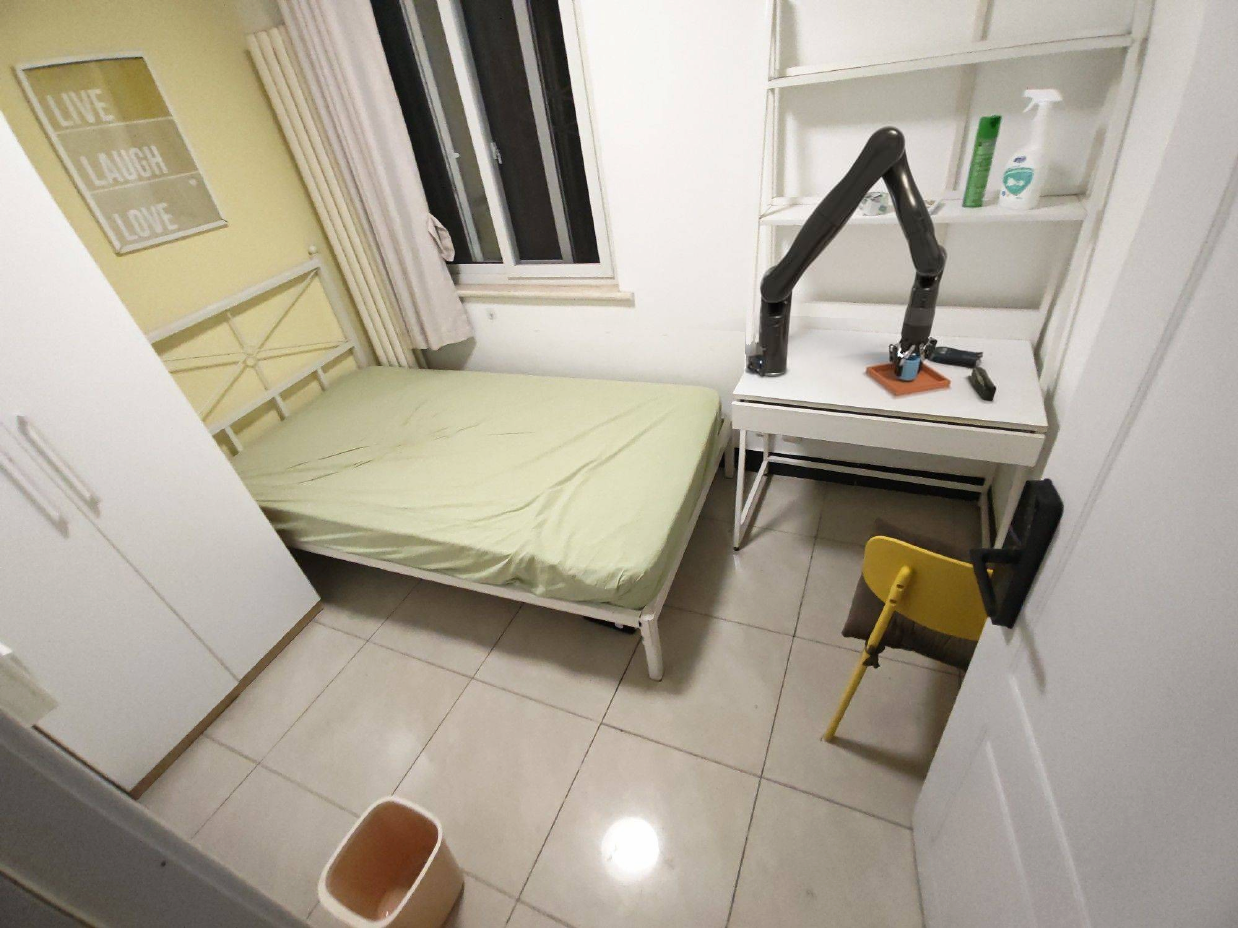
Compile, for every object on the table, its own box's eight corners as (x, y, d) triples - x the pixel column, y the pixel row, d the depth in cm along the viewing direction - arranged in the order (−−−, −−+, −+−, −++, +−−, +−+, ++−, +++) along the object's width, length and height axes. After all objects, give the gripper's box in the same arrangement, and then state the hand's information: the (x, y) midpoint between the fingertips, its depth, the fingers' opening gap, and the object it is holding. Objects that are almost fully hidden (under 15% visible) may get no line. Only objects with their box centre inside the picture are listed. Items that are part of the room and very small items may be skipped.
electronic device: (979, 362, 177) (929, 348, 183) (987, 347, 173) (935, 334, 179) (972, 378, 172) (921, 363, 178) (979, 363, 168) (927, 348, 175)
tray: (895, 397, 162) (897, 390, 161) (865, 373, 176) (866, 366, 174) (949, 388, 163) (951, 380, 162) (915, 365, 177) (916, 358, 175)
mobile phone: (999, 387, 152) (980, 362, 163) (987, 387, 152) (969, 362, 164) (994, 403, 155) (976, 377, 166) (982, 403, 155) (964, 377, 167)
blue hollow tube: (903, 381, 166) (907, 363, 163) (893, 374, 170) (897, 356, 167) (919, 378, 167) (923, 360, 163) (909, 371, 171) (913, 353, 167)
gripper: (933, 311, 162) (921, 365, 172) (887, 319, 161) (877, 372, 171) (950, 320, 156) (936, 375, 166) (902, 328, 155) (891, 383, 164)
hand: (906, 373), depth 168 cm, fingers closed on blue hollow tube, 5 cm apart
